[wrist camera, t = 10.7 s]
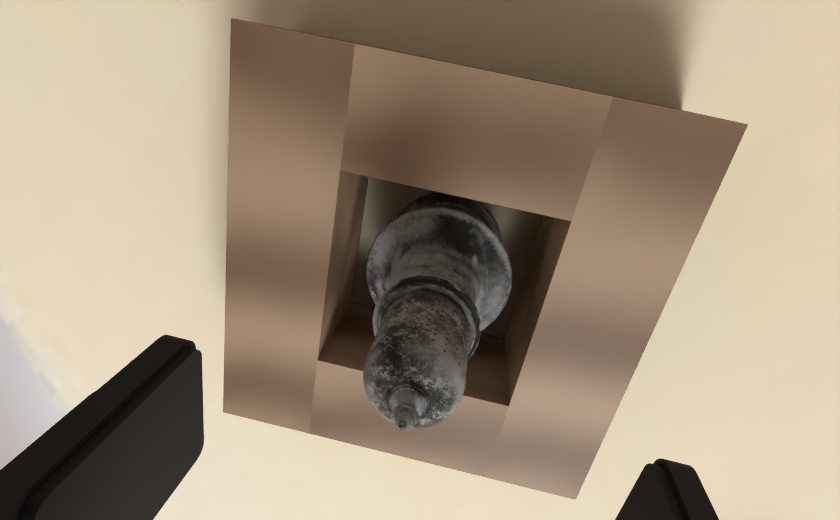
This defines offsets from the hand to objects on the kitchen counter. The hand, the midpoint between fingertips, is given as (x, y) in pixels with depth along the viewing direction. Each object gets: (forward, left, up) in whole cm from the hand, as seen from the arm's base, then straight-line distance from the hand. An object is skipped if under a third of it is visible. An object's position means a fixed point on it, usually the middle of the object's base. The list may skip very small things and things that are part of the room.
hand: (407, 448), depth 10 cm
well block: (+1, 0, -13) cm, 13 cm away
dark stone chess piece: (0, 0, -13) cm, 13 cm away
